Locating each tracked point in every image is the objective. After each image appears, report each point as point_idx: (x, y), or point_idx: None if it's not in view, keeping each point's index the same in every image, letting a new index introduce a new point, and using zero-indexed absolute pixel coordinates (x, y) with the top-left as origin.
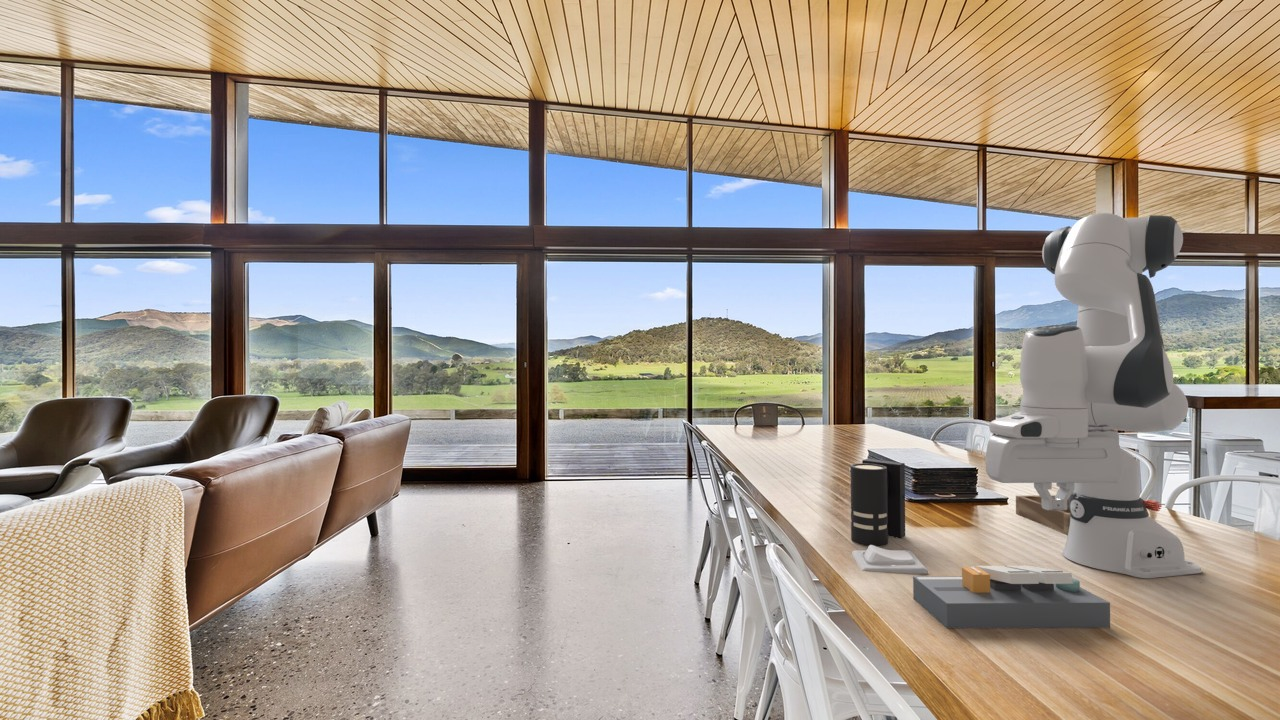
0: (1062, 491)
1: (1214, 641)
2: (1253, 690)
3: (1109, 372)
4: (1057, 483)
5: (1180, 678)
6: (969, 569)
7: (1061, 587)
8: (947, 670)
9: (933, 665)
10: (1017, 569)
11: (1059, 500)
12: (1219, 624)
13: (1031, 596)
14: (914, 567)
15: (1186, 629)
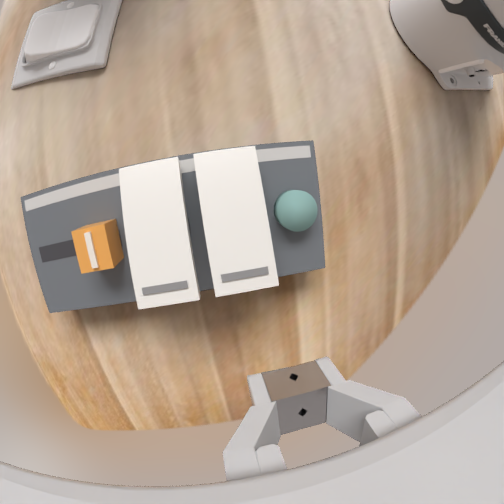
0: (357, 421)
1: (401, 273)
2: (345, 372)
3: None
4: (371, 433)
5: None
6: (82, 242)
7: (277, 219)
8: (61, 385)
9: (50, 378)
10: (186, 230)
11: (308, 425)
12: (436, 224)
13: (196, 262)
14: (80, 64)
15: (398, 244)
